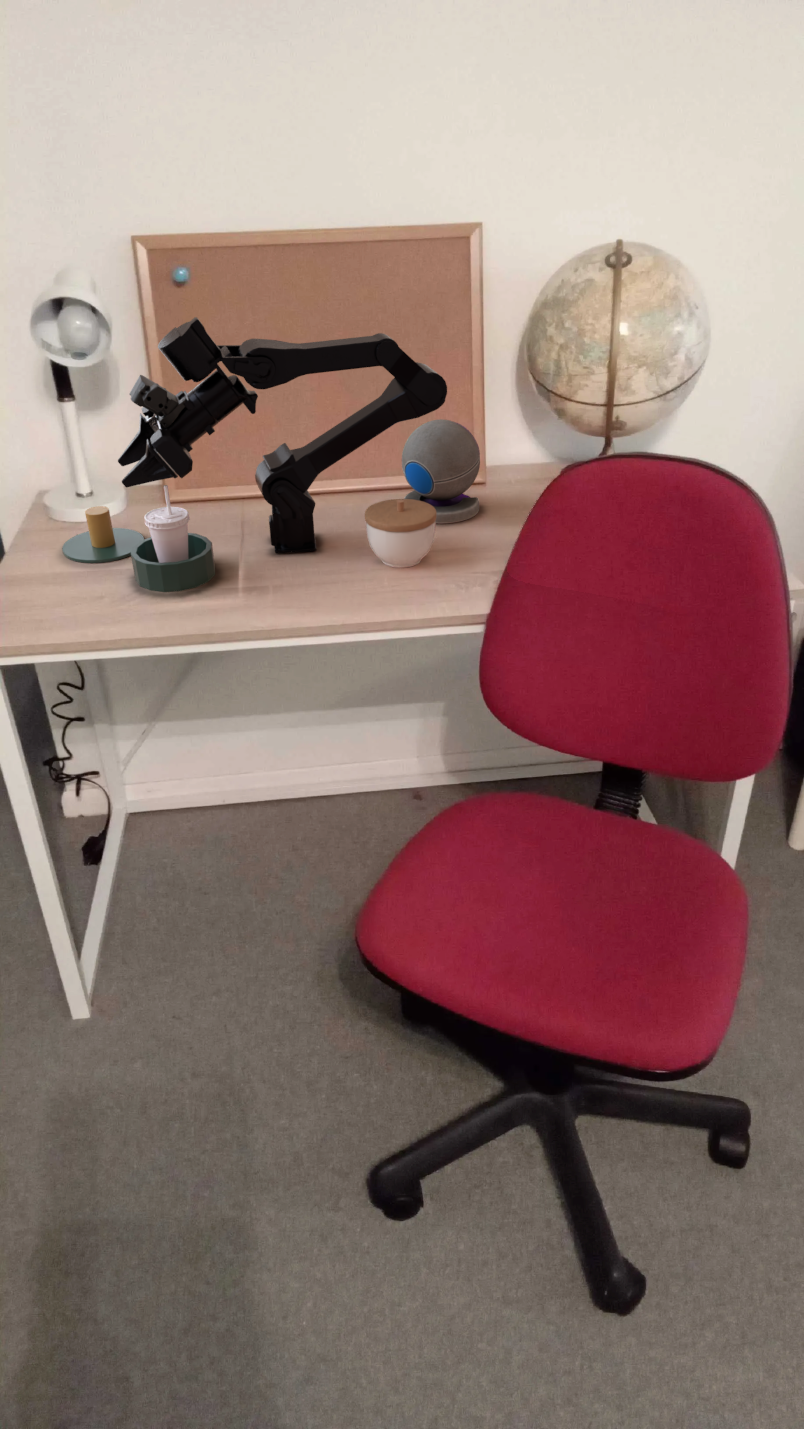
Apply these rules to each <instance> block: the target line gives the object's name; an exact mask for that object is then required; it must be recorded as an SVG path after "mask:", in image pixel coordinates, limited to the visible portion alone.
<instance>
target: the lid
mask: <svg viewBox="0 0 804 1429" xmlns="http://www.w3.org/2000/svg"><path fill="white" fill-rule="evenodd" d="M84 515H85V519H86V523H87V529H88V531H84V532H82V533H79V534H75V535H74V536H72V537H70V538H69V539H67V540H66V541H65V542H64V543H63V544H62V547H61V551H62V554H63V556H64V557H65V558H67V559H69V560H71V561H73V562H77V563H84V564H102V563H110V562H114V561H115V562H116V561H119V560H122V559H125V558H128V557H131V551H132V547H134V546H135V545H136V544H137V543H138V542H140V541H142V540H144V539H145V537H144V536H143V534H142V533H140V532H139V531H137V530H134V529H131V528H125V527H124V528H123V527H113V524H112V519H111V513H110V507H107V506H103V505H98V506H97V505H95V506H91V507H89V508H87V509H85V511H84Z"/></svg>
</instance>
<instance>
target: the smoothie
mask: <svg viewBox="0 0 804 1429" xmlns="http://www.w3.org/2000/svg"><path fill="white" fill-rule="evenodd" d="M163 490H164V497H165V505H166V506H162V507H158V508H154V509H151V510H150V511H148V512H146V514H144V516H143V518H144V525H145V526H146V527H147V528H148V531H149V534H150V537H151V538H152V541H153V544H154V548H155V551H156V554H157V558H158V561H159V563H168V562H178V561H183V560H187V559H188V533H189V522H190V520H191V518H190V514H189V511H188V510H187V509H185V508H183V507H179V506H172V505H171V499H170V493H169V486H168V484H166V485H165V484H164V485H163Z"/></svg>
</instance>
